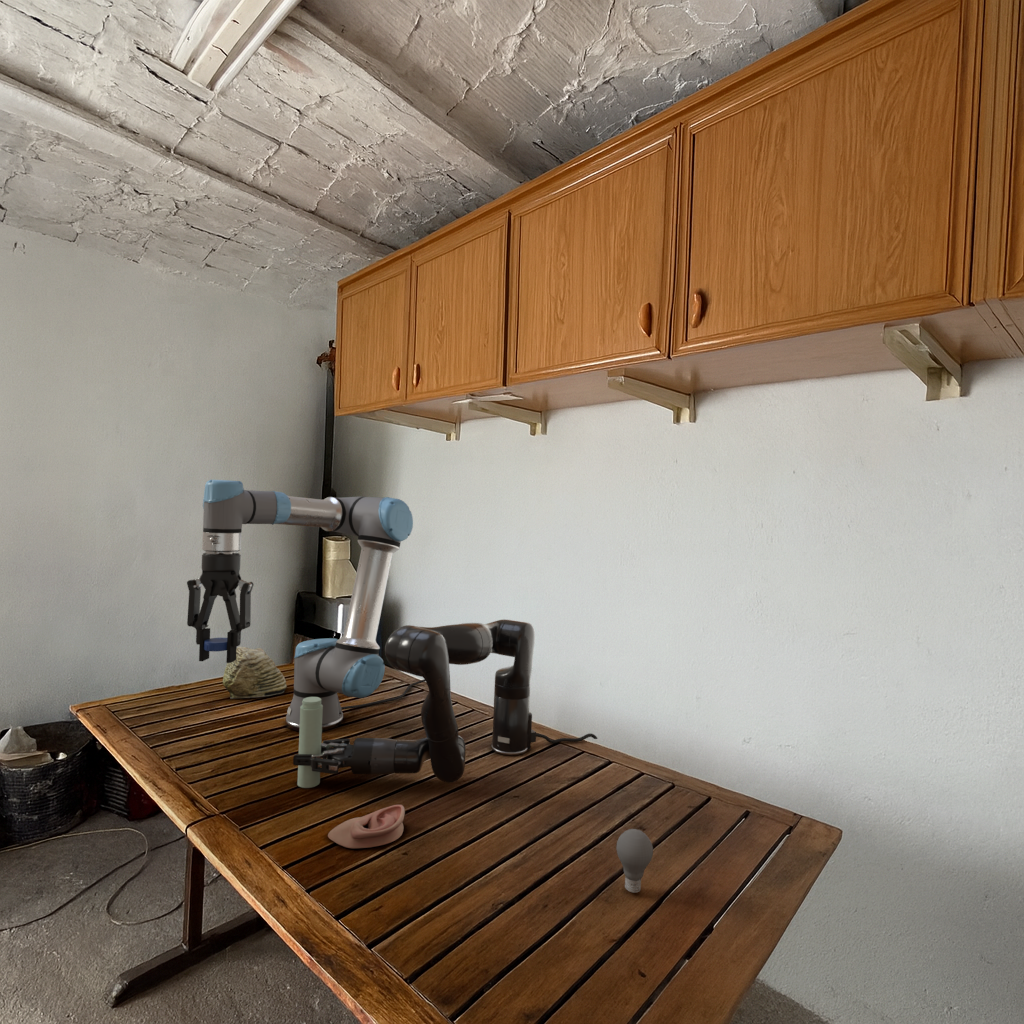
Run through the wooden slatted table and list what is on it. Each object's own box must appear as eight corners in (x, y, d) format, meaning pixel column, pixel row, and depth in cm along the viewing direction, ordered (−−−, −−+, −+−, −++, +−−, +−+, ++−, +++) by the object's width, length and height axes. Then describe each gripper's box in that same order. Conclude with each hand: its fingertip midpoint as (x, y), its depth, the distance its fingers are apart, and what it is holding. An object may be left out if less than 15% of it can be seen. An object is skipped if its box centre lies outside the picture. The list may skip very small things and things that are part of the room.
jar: (306, 790, 136) (309, 704, 136) (292, 783, 139) (296, 699, 139) (324, 782, 140) (327, 699, 140) (311, 776, 143) (314, 694, 143)
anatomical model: (320, 822, 115) (348, 794, 127) (319, 843, 116) (348, 813, 127) (388, 833, 113) (411, 803, 124) (387, 855, 113) (410, 823, 124)
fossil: (218, 695, 195) (220, 647, 195) (278, 685, 208) (279, 640, 207) (228, 703, 189) (230, 653, 188) (289, 692, 201) (290, 645, 201)
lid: (236, 648, 136) (237, 640, 136) (212, 652, 132) (212, 644, 131) (223, 644, 139) (223, 636, 139) (198, 648, 135) (199, 640, 135)
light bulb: (610, 879, 108) (613, 822, 108) (644, 879, 109) (647, 822, 109) (619, 902, 102) (622, 840, 102) (655, 901, 103) (658, 840, 103)
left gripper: (169, 551, 132) (165, 662, 132) (255, 555, 131) (251, 667, 131) (190, 548, 139) (186, 653, 140) (271, 552, 138) (267, 658, 139)
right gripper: (380, 727, 148) (306, 726, 147) (370, 752, 133) (288, 750, 132) (379, 759, 148) (304, 758, 147) (369, 787, 134) (287, 786, 132)
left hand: (217, 660), depth 135 cm, fingers closed on lid, 5 cm apart
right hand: (297, 754), depth 139 cm, fingers closed on jar, 4 cm apart
